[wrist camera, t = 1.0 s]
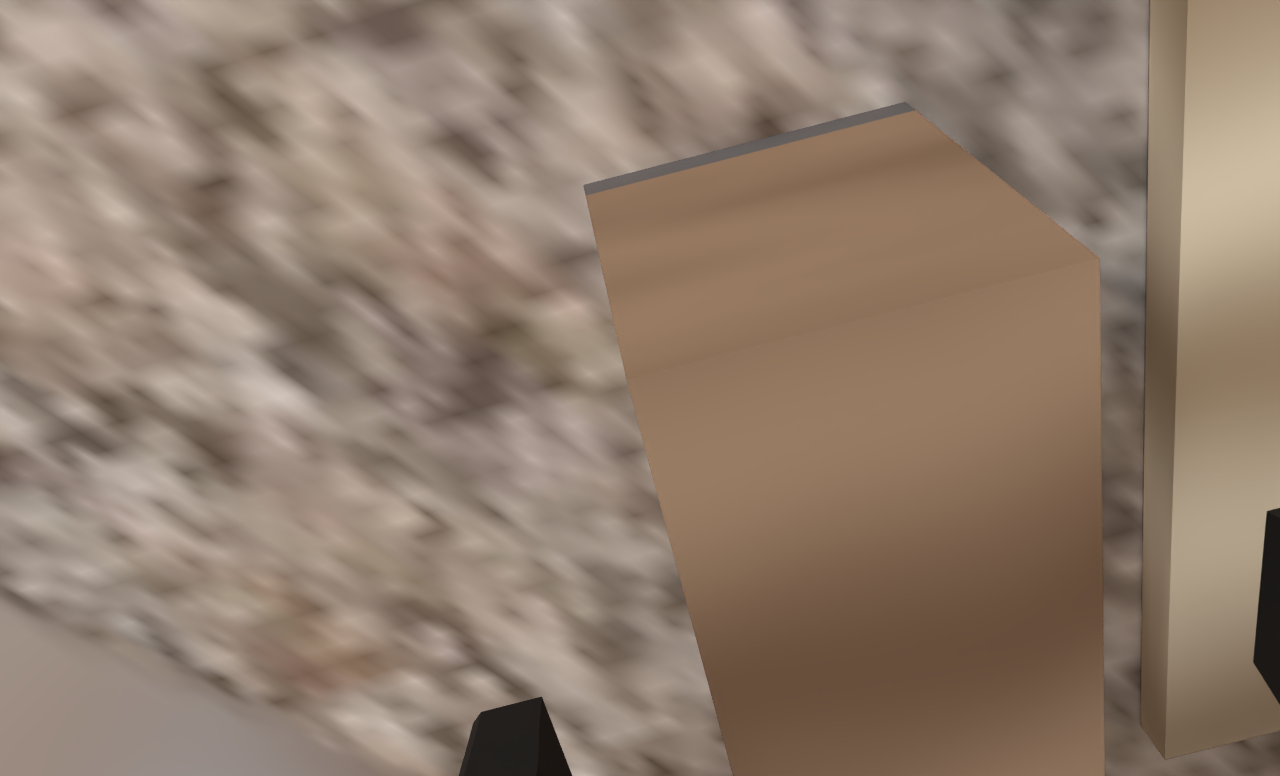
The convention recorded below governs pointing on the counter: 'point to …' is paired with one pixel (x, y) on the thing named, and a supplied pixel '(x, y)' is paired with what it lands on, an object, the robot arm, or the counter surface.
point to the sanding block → (871, 447)
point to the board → (1210, 368)
